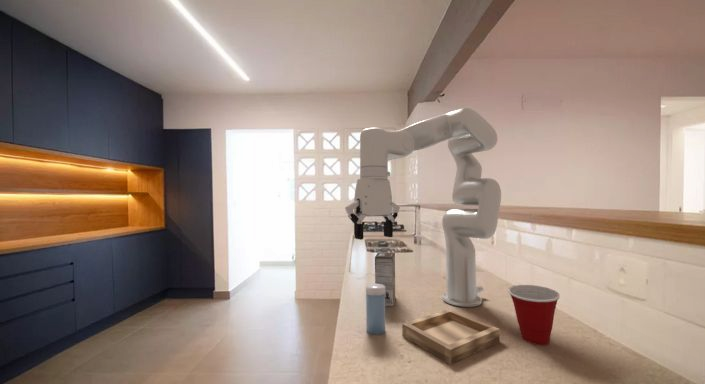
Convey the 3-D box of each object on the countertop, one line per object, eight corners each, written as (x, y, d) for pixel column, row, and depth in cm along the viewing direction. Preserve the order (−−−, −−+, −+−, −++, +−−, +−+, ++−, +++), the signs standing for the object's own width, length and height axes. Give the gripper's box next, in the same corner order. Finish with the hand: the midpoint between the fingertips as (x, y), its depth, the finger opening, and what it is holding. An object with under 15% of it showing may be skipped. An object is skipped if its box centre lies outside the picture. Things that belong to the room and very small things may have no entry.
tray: (449, 319, 81) (449, 309, 81) (499, 341, 68) (499, 328, 68) (402, 335, 71) (402, 323, 71) (450, 364, 58) (450, 349, 58)
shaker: (377, 324, 78) (377, 282, 78) (389, 331, 73) (389, 287, 74) (362, 329, 75) (361, 285, 75) (373, 336, 71) (373, 290, 71)
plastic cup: (499, 334, 72) (498, 286, 72) (528, 326, 76) (526, 282, 76) (541, 355, 61) (539, 300, 62) (572, 345, 65) (570, 294, 66)
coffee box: (377, 296, 101) (377, 251, 102) (395, 297, 100) (395, 252, 101) (374, 305, 92) (374, 256, 93) (394, 306, 91) (393, 257, 92)
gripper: (389, 177, 83) (390, 234, 83) (339, 174, 74) (339, 238, 74) (407, 175, 77) (407, 237, 76) (354, 171, 68) (354, 241, 67)
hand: (374, 237), depth 75 cm, fingers open, 9 cm apart
